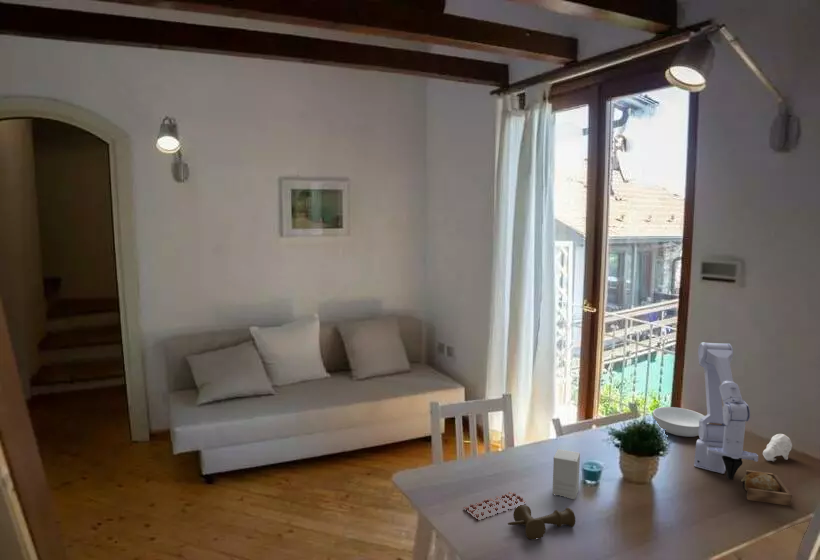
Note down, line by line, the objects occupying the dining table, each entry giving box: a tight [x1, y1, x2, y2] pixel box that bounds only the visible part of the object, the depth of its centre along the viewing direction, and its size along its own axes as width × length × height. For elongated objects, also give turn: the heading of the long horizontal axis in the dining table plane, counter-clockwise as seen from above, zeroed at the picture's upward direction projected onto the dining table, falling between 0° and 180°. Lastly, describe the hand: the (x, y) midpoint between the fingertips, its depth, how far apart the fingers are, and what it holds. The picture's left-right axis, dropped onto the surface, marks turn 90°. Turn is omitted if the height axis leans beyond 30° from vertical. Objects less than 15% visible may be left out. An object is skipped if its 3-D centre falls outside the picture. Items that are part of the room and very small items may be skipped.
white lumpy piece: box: [762, 433, 793, 462], centre depth 203 cm, size 6×8×12 cm
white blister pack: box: [463, 491, 526, 518], centre depth 169 cm, size 7×19×2 cm, turn 121°
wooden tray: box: [744, 469, 793, 507], centre depth 180 cm, size 12×15×4 cm
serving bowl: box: [652, 406, 710, 437], centre depth 227 cm, size 21×21×7 cm
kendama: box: [507, 504, 576, 540], centre depth 157 cm, size 6×10×20 cm
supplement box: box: [552, 448, 581, 500], centre depth 177 cm, size 7×7×13 cm
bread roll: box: [740, 471, 780, 492], centre depth 179 cm, size 10×10×8 cm
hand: (729, 478), depth 182 cm, fingers closed
